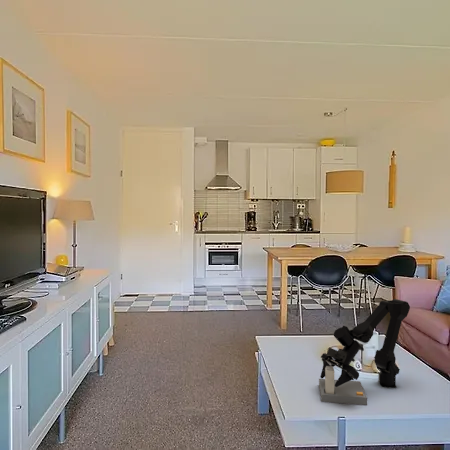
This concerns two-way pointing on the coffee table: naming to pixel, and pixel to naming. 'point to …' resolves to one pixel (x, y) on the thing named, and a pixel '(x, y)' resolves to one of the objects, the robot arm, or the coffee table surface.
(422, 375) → the coffee table surface
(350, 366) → the robot arm
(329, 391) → the plug
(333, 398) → the socket board
